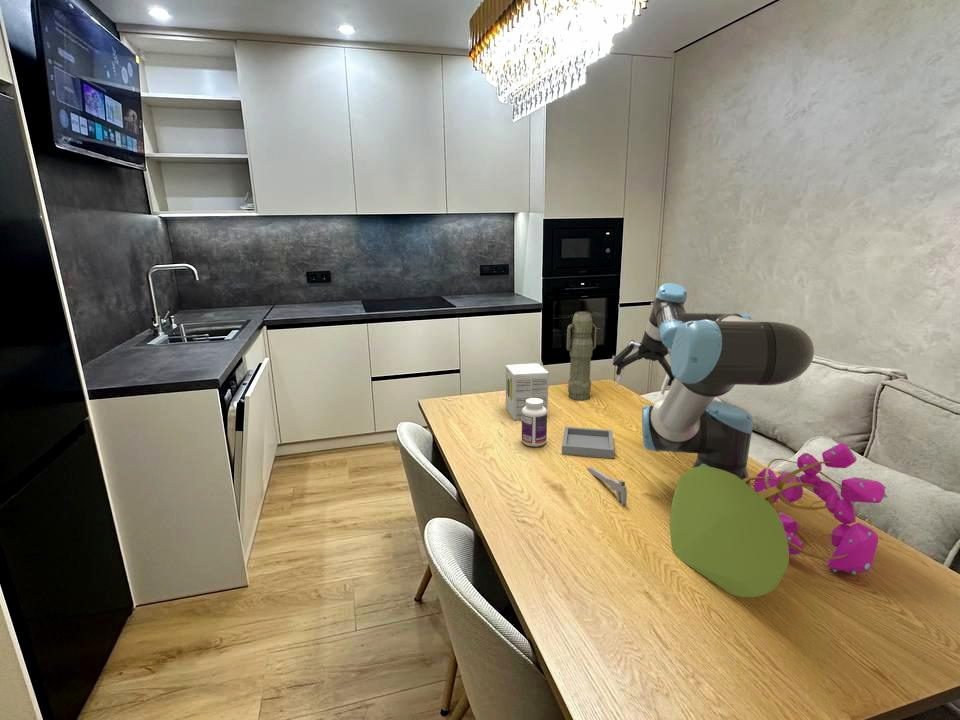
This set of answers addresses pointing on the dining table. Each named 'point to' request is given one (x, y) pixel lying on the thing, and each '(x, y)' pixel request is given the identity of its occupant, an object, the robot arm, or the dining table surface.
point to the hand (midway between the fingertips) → (640, 386)
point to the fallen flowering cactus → (766, 522)
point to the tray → (588, 442)
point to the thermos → (580, 355)
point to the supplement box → (525, 386)
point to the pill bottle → (534, 423)
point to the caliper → (612, 485)
